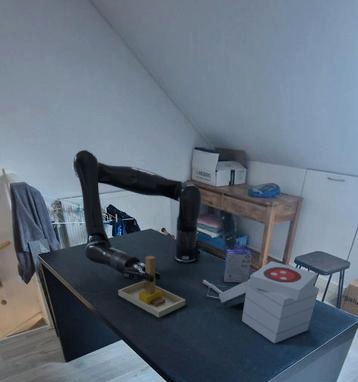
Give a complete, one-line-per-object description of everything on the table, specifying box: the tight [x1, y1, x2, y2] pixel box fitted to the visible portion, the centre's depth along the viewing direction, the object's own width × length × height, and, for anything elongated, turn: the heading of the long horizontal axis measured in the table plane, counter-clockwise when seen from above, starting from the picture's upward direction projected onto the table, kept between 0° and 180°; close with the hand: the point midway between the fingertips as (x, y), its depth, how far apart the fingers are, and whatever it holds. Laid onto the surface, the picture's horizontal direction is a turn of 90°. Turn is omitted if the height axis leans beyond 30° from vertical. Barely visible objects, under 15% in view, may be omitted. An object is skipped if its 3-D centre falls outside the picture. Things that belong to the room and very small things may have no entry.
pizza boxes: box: [218, 260, 320, 344], centre depth 108 cm, size 19×30×18 cm, turn 32°
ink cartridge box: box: [223, 244, 253, 284], centre depth 135 cm, size 10×6×14 cm, turn 89°
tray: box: [117, 280, 186, 318], centre depth 120 cm, size 22×13×3 cm, turn 46°
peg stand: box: [139, 255, 162, 304], centre depth 116 cm, size 4×7×16 cm, turn 136°
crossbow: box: [202, 279, 232, 299], centre depth 129 cm, size 16×13×2 cm
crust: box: [150, 297, 165, 307], centre depth 118 cm, size 3×4×1 cm, turn 136°
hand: (156, 278), depth 113 cm, fingers closed on peg stand, 2 cm apart
